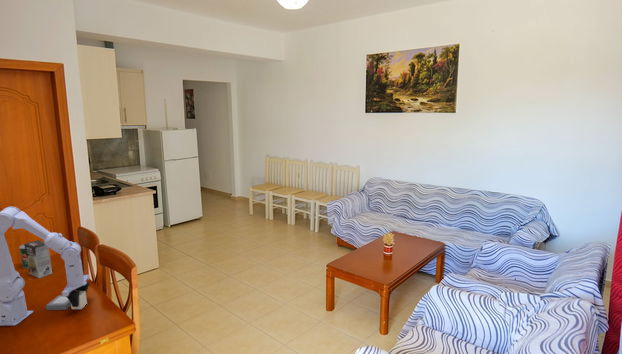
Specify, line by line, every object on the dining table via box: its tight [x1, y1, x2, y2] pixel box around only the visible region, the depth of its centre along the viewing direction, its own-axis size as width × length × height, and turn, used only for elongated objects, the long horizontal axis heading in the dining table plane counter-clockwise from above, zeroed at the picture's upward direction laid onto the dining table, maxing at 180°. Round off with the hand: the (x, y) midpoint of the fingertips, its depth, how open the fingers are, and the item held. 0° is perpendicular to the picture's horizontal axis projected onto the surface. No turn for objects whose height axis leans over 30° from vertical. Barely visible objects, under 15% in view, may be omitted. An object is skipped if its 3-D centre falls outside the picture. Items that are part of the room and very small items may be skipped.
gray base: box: [45, 294, 71, 311], centre depth 155 cm, size 8×8×2 cm
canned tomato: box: [18, 244, 29, 269], centre depth 192 cm, size 8×8×11 cm
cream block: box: [70, 291, 88, 310], centre depth 153 cm, size 4×4×6 cm
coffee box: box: [23, 239, 53, 279], centre depth 181 cm, size 9×6×16 cm
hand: (79, 303), depth 153 cm, fingers closed on cream block, 4 cm apart
